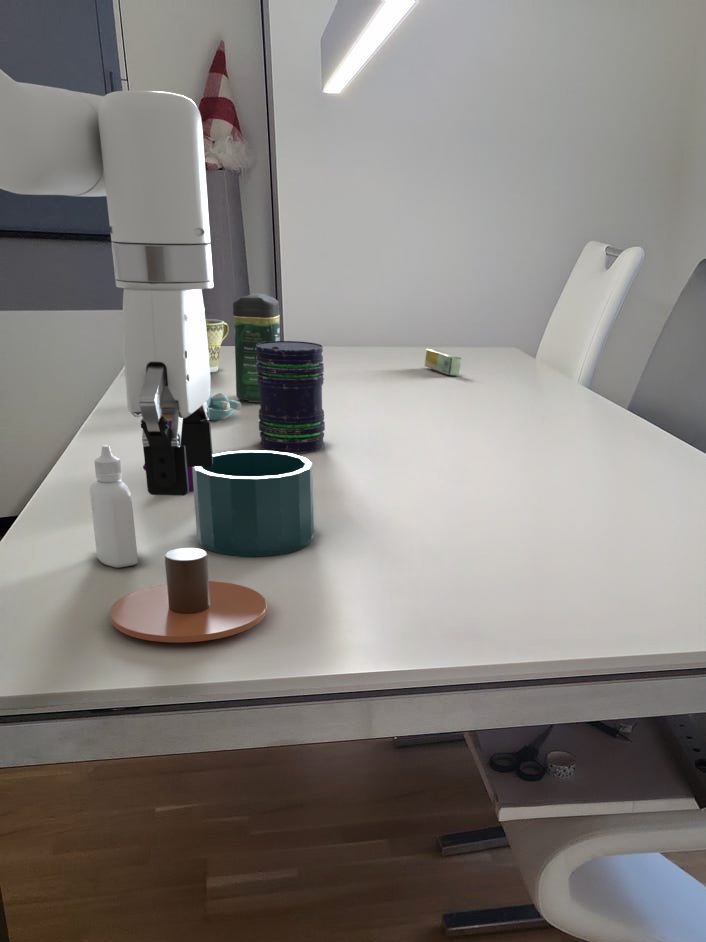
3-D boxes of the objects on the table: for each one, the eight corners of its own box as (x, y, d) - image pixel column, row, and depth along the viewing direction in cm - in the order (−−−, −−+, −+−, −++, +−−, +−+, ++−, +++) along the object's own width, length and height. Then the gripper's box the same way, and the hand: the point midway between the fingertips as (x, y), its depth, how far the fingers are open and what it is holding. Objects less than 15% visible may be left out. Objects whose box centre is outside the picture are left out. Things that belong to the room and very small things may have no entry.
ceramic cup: (201, 375, 212) (198, 325, 208) (167, 369, 217) (164, 320, 213) (246, 369, 222) (244, 320, 218) (213, 363, 227) (211, 316, 223)
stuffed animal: (257, 385, 174) (191, 377, 165) (251, 428, 176) (186, 421, 167) (226, 376, 181) (161, 367, 173) (221, 417, 183) (157, 410, 175)
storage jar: (292, 436, 164) (289, 339, 158) (338, 446, 159) (337, 346, 153) (245, 446, 157) (240, 344, 151) (292, 456, 151) (289, 352, 146)
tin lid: (91, 647, 87) (83, 578, 85) (135, 590, 99) (129, 528, 97) (253, 651, 88) (250, 582, 85) (277, 594, 100) (274, 532, 98)
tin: (186, 555, 110) (181, 476, 106) (211, 520, 121) (206, 448, 118) (306, 558, 110) (304, 480, 107) (319, 523, 122) (317, 452, 118)
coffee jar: (276, 404, 188) (272, 297, 180) (232, 402, 188) (227, 295, 180) (286, 394, 197) (282, 292, 189) (244, 393, 197) (239, 290, 189)
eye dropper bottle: (142, 551, 110) (131, 439, 105) (136, 568, 105) (125, 452, 100) (98, 552, 109) (86, 439, 104) (91, 570, 104) (78, 452, 99)
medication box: (460, 376, 225) (462, 357, 224) (449, 375, 224) (451, 356, 223) (433, 366, 235) (436, 348, 233) (423, 366, 233) (425, 347, 232)
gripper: (144, 260, 90) (163, 455, 96) (80, 273, 74) (108, 506, 80) (231, 263, 90) (244, 457, 97) (187, 276, 74) (205, 507, 81)
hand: (182, 479), depth 88 cm, fingers open, 9 cm apart
